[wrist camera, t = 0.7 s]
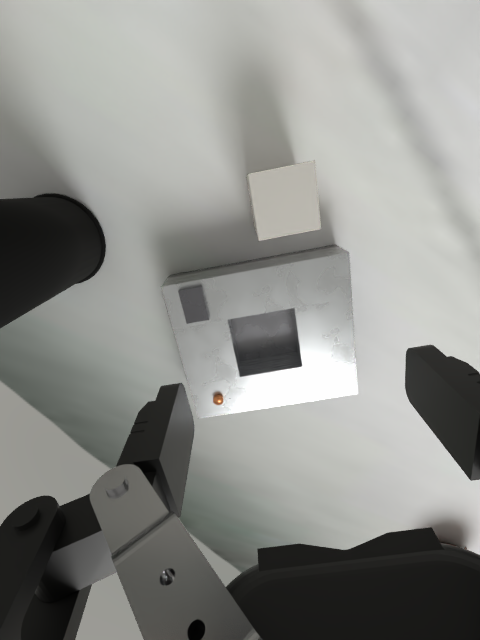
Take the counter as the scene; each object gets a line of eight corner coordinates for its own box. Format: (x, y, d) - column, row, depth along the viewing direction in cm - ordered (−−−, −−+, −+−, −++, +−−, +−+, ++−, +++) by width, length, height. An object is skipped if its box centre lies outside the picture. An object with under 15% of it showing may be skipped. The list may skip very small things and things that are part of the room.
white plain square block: (245, 176, 29) (248, 173, 22) (297, 166, 28) (314, 160, 22) (254, 229, 30) (258, 240, 24) (303, 220, 30) (321, 229, 24)
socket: (169, 275, 32) (159, 288, 28) (335, 244, 31) (351, 253, 27) (202, 395, 37) (197, 422, 33) (345, 372, 36) (359, 397, 32)
